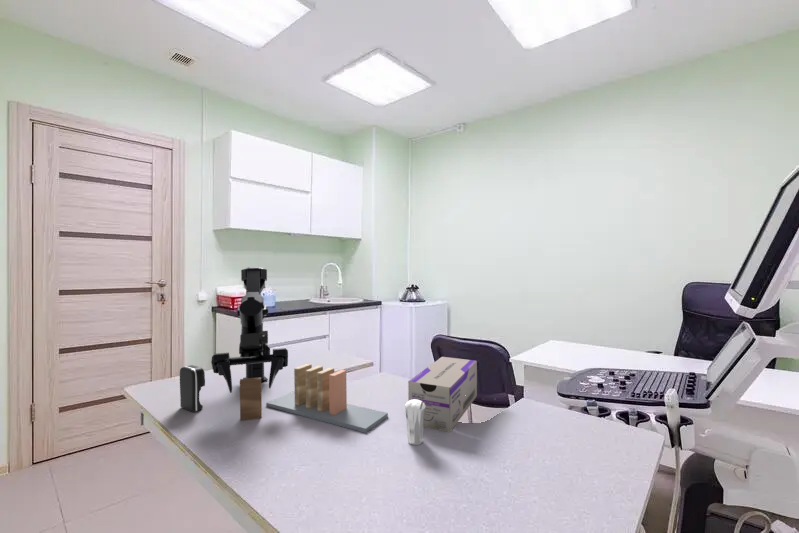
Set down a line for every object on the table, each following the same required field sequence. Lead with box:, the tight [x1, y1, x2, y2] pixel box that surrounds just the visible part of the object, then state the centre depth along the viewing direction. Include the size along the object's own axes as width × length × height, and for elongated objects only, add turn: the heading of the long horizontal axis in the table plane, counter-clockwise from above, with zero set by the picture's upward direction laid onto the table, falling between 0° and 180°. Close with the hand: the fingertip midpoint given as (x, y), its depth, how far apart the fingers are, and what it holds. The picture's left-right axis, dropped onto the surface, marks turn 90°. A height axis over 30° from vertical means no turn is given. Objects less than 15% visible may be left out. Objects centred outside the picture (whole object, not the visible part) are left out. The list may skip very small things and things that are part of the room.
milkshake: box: [404, 399, 426, 446], centre depth 84 cm, size 4×5×10 cm
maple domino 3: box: [317, 367, 335, 412], centre depth 100 cm, size 2×5×10 cm, turn 151°
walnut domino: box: [239, 377, 263, 422], centre depth 97 cm, size 2×5×10 cm, turn 109°
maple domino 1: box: [293, 363, 313, 406], centre depth 104 cm, size 2×5×10 cm, turn 151°
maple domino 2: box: [306, 365, 324, 409], centre depth 102 cm, size 2×5×10 cm, turn 151°
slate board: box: [265, 390, 389, 434], centre depth 101 cm, size 33×10×1 cm, turn 61°
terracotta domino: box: [329, 369, 348, 415], centre depth 98 cm, size 2×5×10 cm, turn 151°
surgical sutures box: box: [407, 356, 478, 433], centre depth 102 cm, size 25×11×11 cm, turn 154°
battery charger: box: [179, 364, 206, 413], centre depth 103 cm, size 7×4×11 cm, turn 57°
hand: (250, 389), depth 96 cm, fingers open, 9 cm apart
